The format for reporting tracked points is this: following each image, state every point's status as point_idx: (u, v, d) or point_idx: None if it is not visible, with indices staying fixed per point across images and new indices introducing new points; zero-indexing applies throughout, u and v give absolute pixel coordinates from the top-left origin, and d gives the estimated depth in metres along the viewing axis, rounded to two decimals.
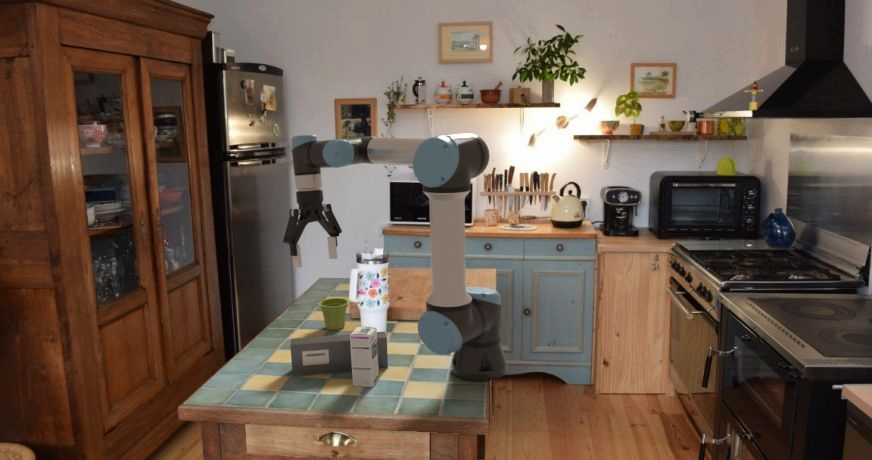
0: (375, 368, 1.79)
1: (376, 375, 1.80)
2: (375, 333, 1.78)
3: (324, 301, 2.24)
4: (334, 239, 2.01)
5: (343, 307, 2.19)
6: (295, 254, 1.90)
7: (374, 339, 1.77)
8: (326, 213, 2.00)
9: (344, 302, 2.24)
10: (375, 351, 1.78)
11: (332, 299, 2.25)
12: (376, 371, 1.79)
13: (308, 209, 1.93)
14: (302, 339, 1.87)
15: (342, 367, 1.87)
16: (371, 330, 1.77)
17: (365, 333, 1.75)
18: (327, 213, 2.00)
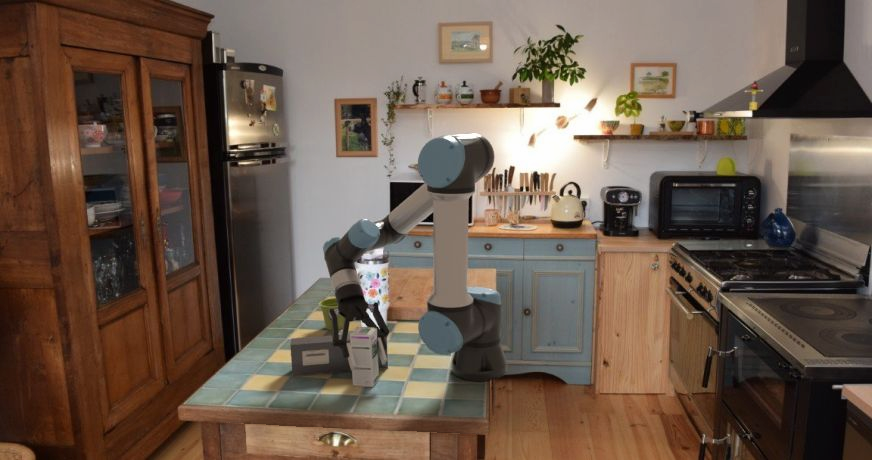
0: (376, 368, 1.79)
1: (376, 375, 1.80)
2: (375, 333, 1.78)
3: (324, 301, 2.24)
4: (379, 340, 1.79)
5: None
6: (346, 354, 1.75)
7: (374, 339, 1.77)
8: (373, 313, 1.85)
9: None
10: (375, 351, 1.78)
11: (332, 299, 2.25)
12: (376, 370, 1.79)
13: (345, 304, 1.83)
14: (302, 339, 1.87)
15: (342, 367, 1.87)
16: (371, 330, 1.77)
17: (366, 333, 1.75)
18: (374, 312, 1.85)
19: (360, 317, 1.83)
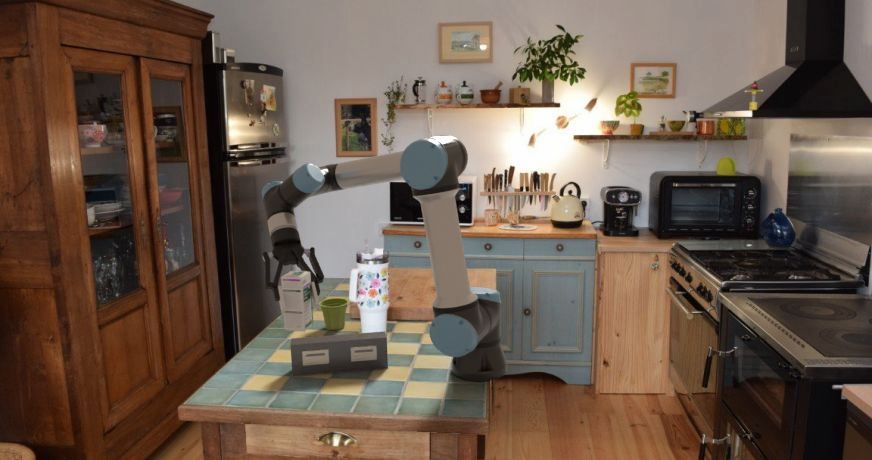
0: (308, 313, 1.74)
1: (309, 320, 1.75)
2: (308, 277, 1.74)
3: (324, 301, 2.24)
4: (313, 284, 1.75)
5: (343, 307, 2.19)
6: (277, 296, 1.71)
7: (306, 283, 1.72)
8: (310, 258, 1.81)
9: (344, 302, 2.24)
10: (308, 295, 1.74)
11: (332, 299, 2.25)
12: (309, 315, 1.75)
13: (280, 248, 1.78)
14: (302, 339, 1.87)
15: (342, 367, 1.87)
16: (303, 273, 1.73)
17: (297, 276, 1.70)
18: (310, 257, 1.80)
19: (295, 261, 1.78)
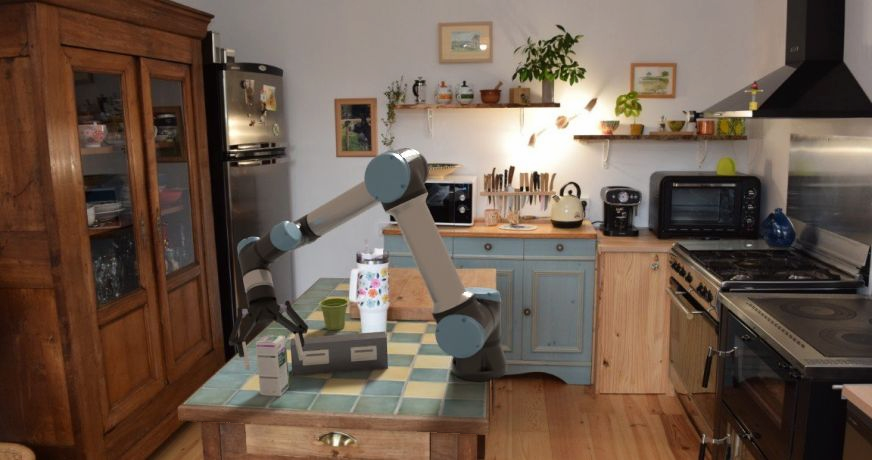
0: (284, 377, 1.74)
1: (285, 384, 1.75)
2: (283, 341, 1.74)
3: (324, 301, 2.24)
4: (297, 335, 1.76)
5: (343, 307, 2.19)
6: (241, 353, 1.70)
7: (281, 347, 1.73)
8: (287, 312, 1.81)
9: (344, 302, 2.24)
10: (283, 359, 1.74)
11: (332, 299, 2.25)
12: (285, 379, 1.75)
13: (256, 307, 1.78)
14: None
15: (342, 367, 1.87)
16: (278, 338, 1.73)
17: (271, 342, 1.70)
18: (287, 311, 1.81)
19: (270, 319, 1.78)
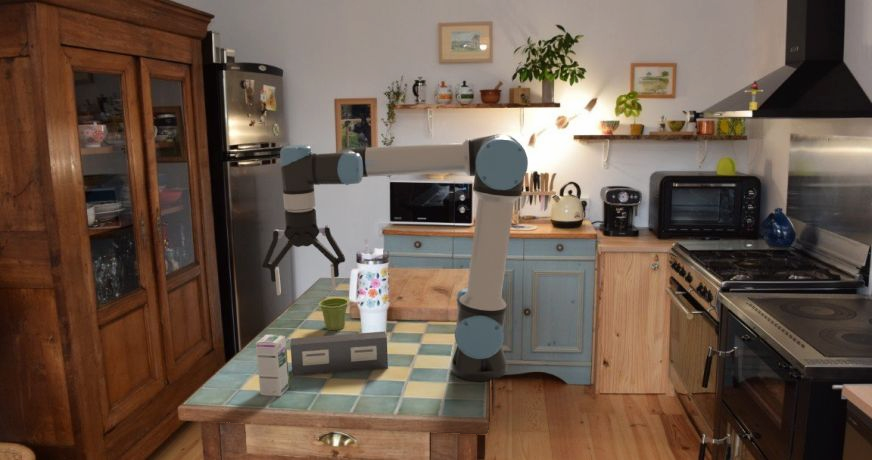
0: (284, 377, 1.74)
1: (285, 384, 1.75)
2: (283, 341, 1.74)
3: (324, 301, 2.24)
4: (332, 268, 1.70)
5: (343, 307, 2.19)
6: (273, 280, 1.69)
7: (281, 347, 1.73)
8: None
9: (344, 302, 2.24)
10: (283, 359, 1.74)
11: (332, 299, 2.25)
12: (285, 379, 1.75)
13: (293, 232, 1.67)
14: (302, 339, 1.87)
15: (342, 367, 1.87)
16: (278, 338, 1.73)
17: (271, 342, 1.70)
18: None
19: None
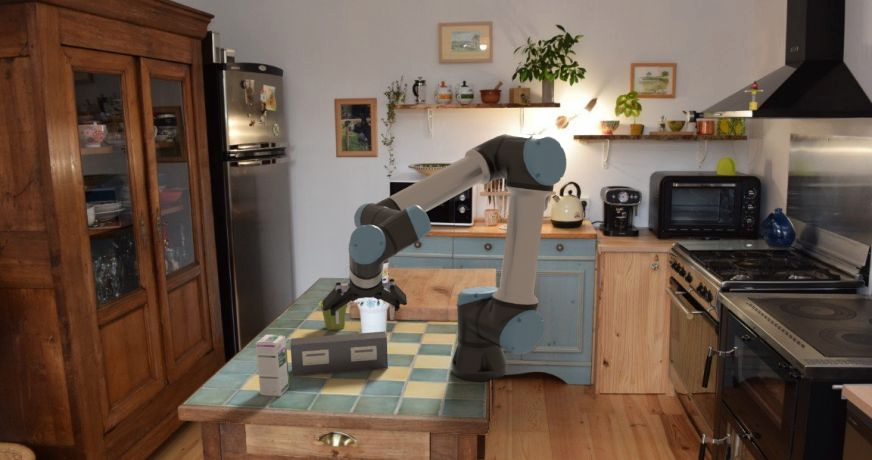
0: (284, 377, 1.74)
1: (285, 384, 1.75)
2: (283, 341, 1.74)
3: None
4: (392, 309, 1.67)
5: (343, 307, 2.19)
6: (333, 314, 1.67)
7: (281, 347, 1.73)
8: None
9: None
10: (283, 359, 1.74)
11: None
12: (285, 379, 1.75)
13: None
14: (302, 339, 1.87)
15: (342, 367, 1.87)
16: (278, 338, 1.73)
17: (271, 342, 1.70)
18: None
19: None
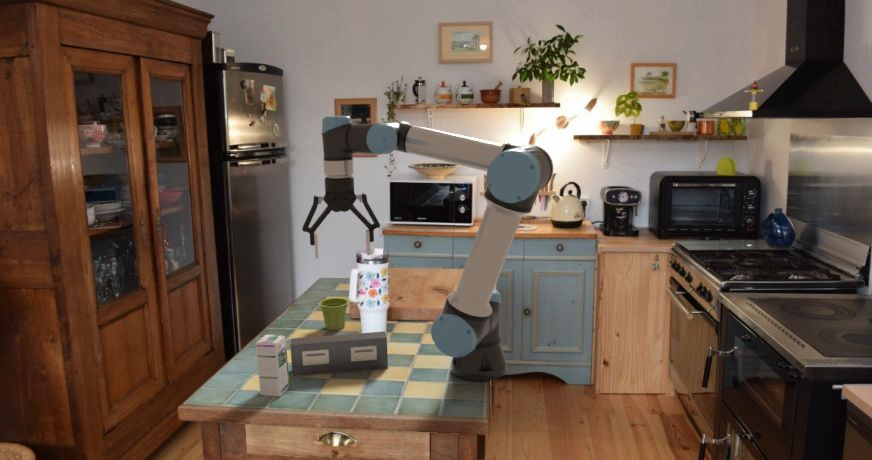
0: (284, 377, 1.74)
1: (285, 384, 1.75)
2: (283, 341, 1.74)
3: (324, 301, 2.24)
4: (367, 233, 1.80)
5: (343, 307, 2.19)
6: (312, 243, 1.78)
7: (281, 347, 1.73)
8: None
9: (344, 302, 2.24)
10: (283, 359, 1.74)
11: (332, 299, 2.25)
12: (285, 379, 1.75)
13: (332, 197, 1.77)
14: (302, 339, 1.87)
15: (342, 367, 1.87)
16: (278, 338, 1.73)
17: (271, 342, 1.70)
18: (363, 203, 1.79)
19: None
